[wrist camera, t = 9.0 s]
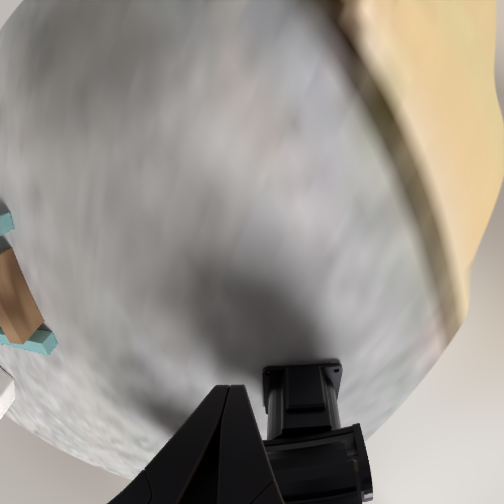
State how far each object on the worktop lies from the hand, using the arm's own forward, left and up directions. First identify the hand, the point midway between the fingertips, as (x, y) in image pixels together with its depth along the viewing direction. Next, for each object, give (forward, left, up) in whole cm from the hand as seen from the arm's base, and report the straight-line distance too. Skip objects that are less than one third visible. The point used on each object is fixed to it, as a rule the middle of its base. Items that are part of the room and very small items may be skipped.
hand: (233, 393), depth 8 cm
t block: (-4, +26, -12) cm, 29 cm away
